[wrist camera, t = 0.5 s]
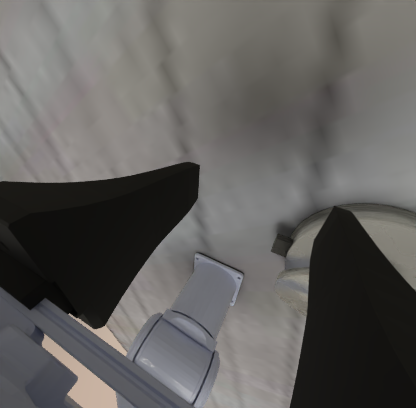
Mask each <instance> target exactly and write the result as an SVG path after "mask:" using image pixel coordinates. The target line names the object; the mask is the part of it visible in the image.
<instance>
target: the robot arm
mask: <svg viewBox="0 0 416 408" xmlns="http://www.w3.org/2000/svg"><path fill="white" fill-rule="evenodd" d="M199 169H200V165H198V164H195V163H191V162H185V163H180V164H176V165H172V166H168V167H164V168H161V169H157V170H153V171H149V172H145V173H140V174H136V175H131V176H126V177H121V178H114V179H107V180H97V181H85V182H68V183H32V182H8V181H2V182H0V408H82V407H81V406H80V405H79V404H77V403H76V402H75V401H74V400H73V399H71V398H70V397H69V396H68V395H67V393H68V392H69V391H70V389H71V388H72V387H73V386H74V384H75V383H76V382H77V380H78V377H77V376H76V375H75V374H74V373H73V372H72V371H71V370H70V369H69V368H67V367H66V366H65V365H64V364H63V363H61V362H60V361H59V360H58V359H57V358H55V357H54V356H53V355H52V354H50V353H49V352H48V351H47V350H45V349H44V348H43V347H42V341H43V339H44V333H45V334H46V335H47V336H48V337H49V338H51V339H52V340H53V341H54V342H56V343H57V344H58V345H59V346H61V347H62V348H63V349H64V350H65V351H67V352H68V353H69V354H70V355H72V356H73V357H74V358H75V359H77V360H78V361H79V362H80V363H81V364H83V365H84V366H85V367H86V368H87V369H89V370H90V371H91V372H92V373H94V374H95V375H96V376H97V377H98V378H100V379H101V380H102V381H103V382H105V383H106V384H107V385H108V386H109V387H111V388H112V389H113V390H114V391H116V398H117V405H118V408H203V407H204V405H205V403H206V401H207V399H208V397H209V395H210V392H211V390H212V387H213V385H214V382H215V379H216V376H217V373H218V370H219V365H220V359H219V353H218V352H217V351H216V350H215V347H216V345H217V341H215V340H216V338H217V335H218V333H219V330H220V328H221V325H222V323H223V321H224V318H225V316H226V313H227V311H228V308H229V306H230V305H231V306H234V304H235V301H236V298H237V295H238V292H239V289H240V285H241V282H242V279H243V276H244V275H243V274H242V273H241V272H239V271H236V270H234V269H232V268H230V267H228V266H226V265H223V264H221V263H219V262H217V261H215V260H212V259H210V258H208V257H206V256H204V255H202V254H199V253H196V254H195V262H194V272H193V274H192V275H191V277H190V278H189V280H188V281H187V283H186V285H185V286H184V288H183V289H182V291H181V292H180V294H179V295H178V297H177V299H176V300H175V302H174V303H173V305H172V306H171V308H170V310H169V309H167V310H166V311H165V313H164V314H162V313H157V314H154V315H152V316H151V317H150V318H149V319H148V321H147V322H146V323H145V324H144V326H143V327H142V329H141V330H140V332H139V333H138V335H137V336H136V338H135V339H134V341H133V343H132V345H131V346H130V348H129V350H128V353H127V355H126V357H125V356H124V355H123V354H121V353H120V352H119V351H117V350H116V349H114V348H113V347H112V346H110V345H109V344H108V343H106V342H105V341H103V340H102V339H101V338H99V337H98V336H97V335H95V334H94V333H93V332H91V331H90V330H88V329H87V328H86V327H84V326H83V325H82V324H80V323H79V322H77V321H76V320H75V319H73V318H72V317H71V316H69V315H68V314H69V313H70V314H72V315H73V316H74V317H76V318H79V319H81V320H82V321H84V322H85V323H86V324H88V325H89V326H90V327H92V328H93V329H98V328H101V327H103V326H105V324H106V323H107V321H108V319H109V318H110V316H111V314H112V313H113V311H114V309H115V308H116V306H117V304H118V303H119V301H120V299H121V298H122V296H123V295H124V293H125V292H126V290H127V289H128V287H129V285H130V284H131V282H132V281H133V279H134V278H135V276H136V275H137V274H138V272H139V271H140V269H141V268H142V266H143V265H144V264H145V262H146V261H147V259H148V258H149V257H150V255H151V254H152V253H153V251H154V250H155V249H156V247H157V246H158V245H159V244H160V243H161V241H162V240H163V239H164V238H165V237H166V236H167V235H168V234H169V233H170V232H171V231H172V229H173V228H174V227H175V226H176V225H177V224H178V223H179V222H180V221H181V220H182V219H183V218H184V216H185V215H186V214H187V213H188V212H189V211H190V209H191V208H192V206H193V205H194V203H195V202H196V200H197V199H198V187H199ZM290 408H416V291H415V290H414V289H413V288H412V287H411V285H410V284H409V283H408V282H407V281H406V280H405V279H404V278H403V277H402V275H401V274H400V273H399V272H398V271H397V270H396V268H395V267H394V266H393V265H392V264H391V263H390V261H389V260H388V259H387V258H386V256H385V255H384V254H383V253H382V251H381V250H380V249H379V248H378V246H377V245H376V244H375V242H374V241H373V240H372V238H371V237H370V236H369V234H368V233H367V232H366V230H365V229H364V228H363V226H362V225H361V223H360V222H359V221H358V219H357V218H356V217H355V215H354V214H353V213H352V212H351V211H349V210H346V209H343V208H339V207H336V206H334V207H333V209H332V210H331V212H330V214H329V215H328V217H327V219H326V220H325V222H324V224H323V226H322V227H321V229H320V231H319V232H318V234H317V236H316V237H315V239H314V242H313V247H312V251H311V256H310V265H309V285H308V306H307V318H306V325H305V331H304V337H303V343H302V348H301V354H300V359H299V365H298V370H297V375H296V380H295V385H294V390H293V395H292V400H291V404H290Z"/></svg>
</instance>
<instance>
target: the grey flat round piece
mask: <svg viewBox="0 0 416 408" xmlns="http://www.w3.org/2000/svg"><path fill="white" fill-rule="evenodd" d="M336 207H339V208H343V209H346V210H349V211H351V212H352V213H353V214H354V215H355V217H356V218H357V219H358V221H359V222H360V223H361V225H362V226H363V228H364V229H365V230H366V232H367V233H368V234H369V236H370V237H371V238H372V240H373V241H374V242H375V244H376V245H377V246H378V248H379V249H380V250H381V251H382V253H383V254H384V255H385V256H386V258H387V259H388V260H389V261H390V263H391V264H392V265H393V266H394V267H395V268H396V270H397V271H398V272H399V273H400V274H401V275H402V277H403V278H404V279H405V280H406V281H407V282H408V283H409V284H410V285H411V287H412V288H413V289H416V213H413V212H410V211H407V210H404V209H401V208H396V207H392V206H387V205H379V204H364V203H363V204H348V205H340V206H336ZM332 209H333V207H331V208H328V209H325V210H322V211H319V212H317V213H315V214H313V215H311V216H310V217H308V218H306V219H305V220H304V221H303V222H301V223H300V224H299V225H298V226H297V228H296V229H295V230H294V232H293V234H292V236H291V238H289V237H286V236H283V235H281V234H277V237H276V239H275V241H274V244H273V246H272V249H271V252H274V253H276V254H279V255H281V256H284V257H286V260H285V270H286V269H291V268H298V267H309V265H310V256H311V251H312V247H313V242H314V239H315V237H316V236H317V234H318V232H319V231H320V229H321V227H322V226H323V224H324V222H325V220H326V219H327V217H328V215H329V214H330V212H331V210H332Z"/></svg>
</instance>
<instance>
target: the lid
mask: <svg viewBox="0 0 416 408" xmlns="http://www.w3.org/2000/svg"><path fill="white" fill-rule="evenodd" d="M308 285H309V267H298V268H291V269H286V270H284V271H282V272H281V273H279V275H278V277H277V280H276V283H275V292H276V294H277V295H278V296H279V297H280V298H281V299H282V300H283V301H284V302H285V303H286V304H288V305H289V306H290V307H292V308H293V309H295V310H296V311H298V312H299V313H301V314H303V315H304V316H306V317H307V306H308ZM414 290H415V291H416V289H414Z"/></svg>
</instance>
